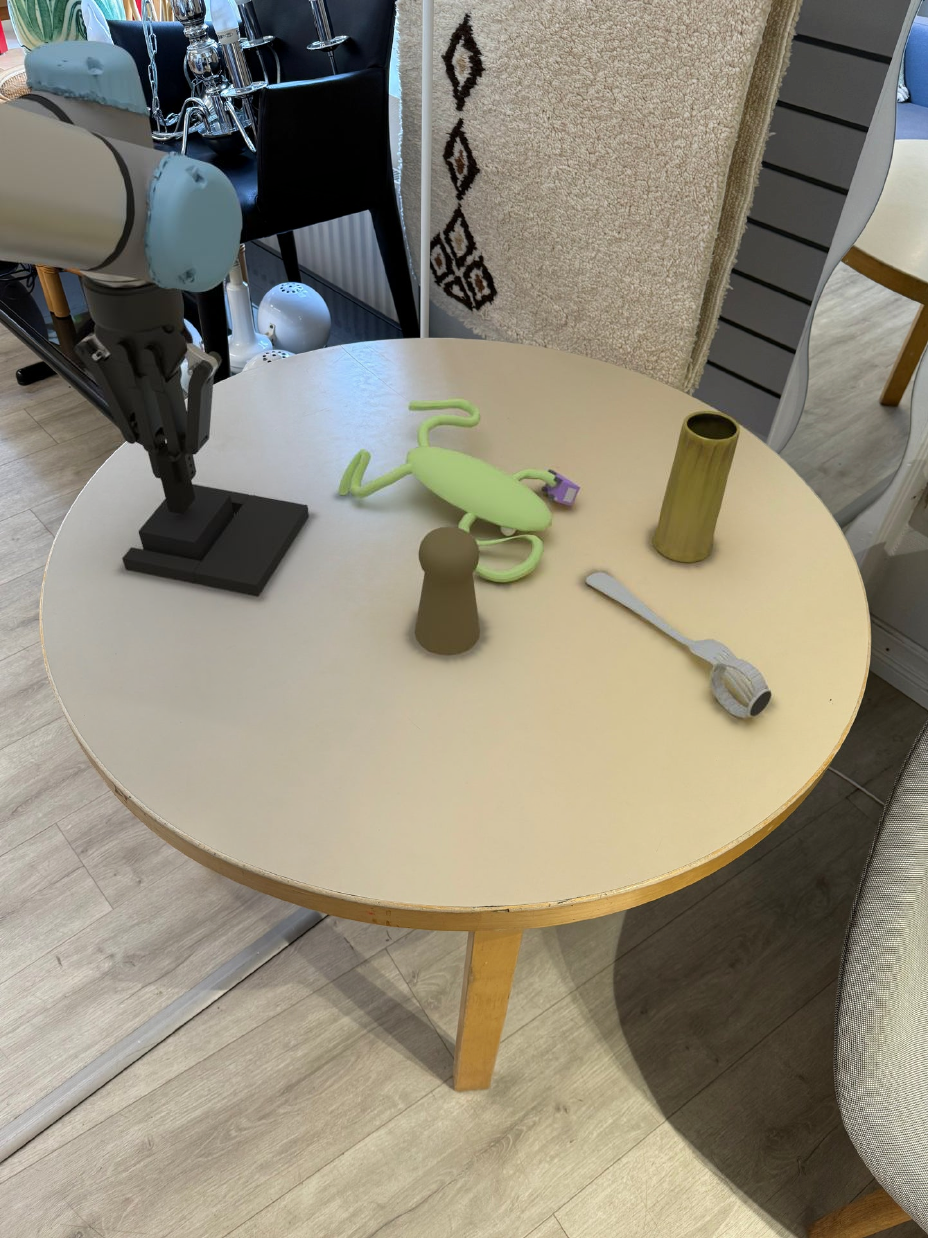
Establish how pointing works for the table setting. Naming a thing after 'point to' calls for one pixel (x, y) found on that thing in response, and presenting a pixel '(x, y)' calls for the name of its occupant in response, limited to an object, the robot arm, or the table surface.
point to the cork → (448, 592)
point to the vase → (696, 486)
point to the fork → (669, 628)
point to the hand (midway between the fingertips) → (182, 504)
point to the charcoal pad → (188, 526)
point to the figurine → (471, 486)
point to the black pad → (233, 547)
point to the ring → (756, 679)
